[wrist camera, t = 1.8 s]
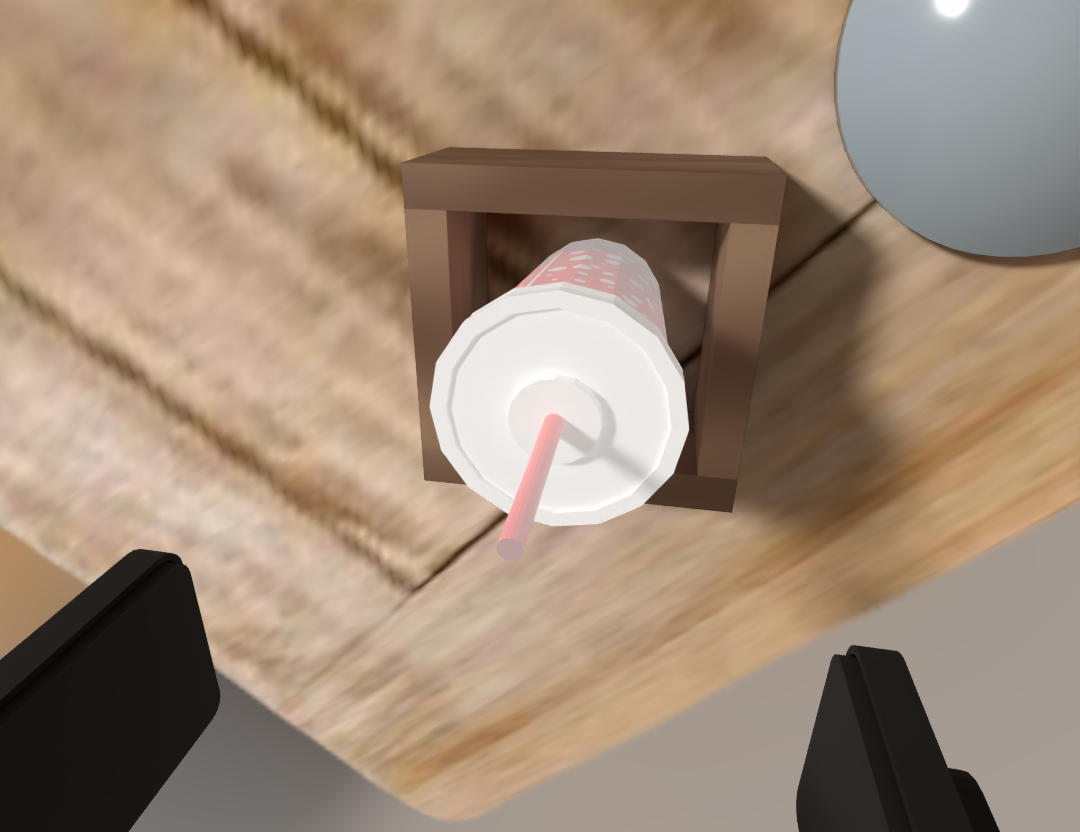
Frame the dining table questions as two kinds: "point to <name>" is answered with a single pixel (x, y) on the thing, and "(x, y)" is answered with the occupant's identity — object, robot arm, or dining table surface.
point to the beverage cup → (564, 394)
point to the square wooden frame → (609, 192)
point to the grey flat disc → (966, 118)
